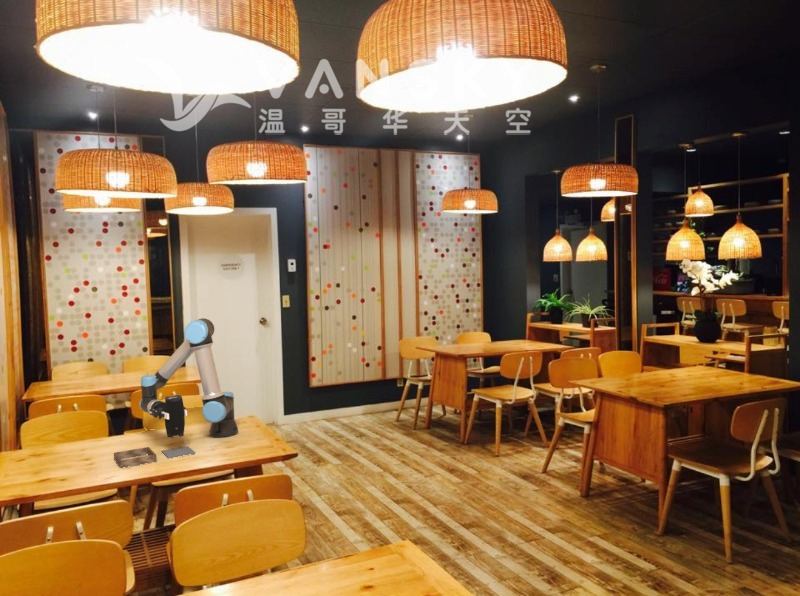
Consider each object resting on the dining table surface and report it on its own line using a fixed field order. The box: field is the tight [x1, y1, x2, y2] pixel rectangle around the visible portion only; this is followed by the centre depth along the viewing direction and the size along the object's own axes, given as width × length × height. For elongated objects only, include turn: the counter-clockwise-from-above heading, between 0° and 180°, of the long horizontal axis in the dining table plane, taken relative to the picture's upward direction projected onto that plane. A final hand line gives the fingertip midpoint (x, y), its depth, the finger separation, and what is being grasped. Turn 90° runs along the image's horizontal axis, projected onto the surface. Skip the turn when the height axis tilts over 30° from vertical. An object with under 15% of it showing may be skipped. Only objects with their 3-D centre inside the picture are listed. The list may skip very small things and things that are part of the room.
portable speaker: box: [164, 394, 186, 439], centre depth 314 cm, size 9×9×20 cm
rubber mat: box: [161, 445, 196, 459], centre depth 316 cm, size 13×13×1 cm
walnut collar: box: [113, 446, 158, 469], centre depth 305 cm, size 16×16×4 cm
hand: (177, 414), depth 312 cm, fingers closed on portable speaker, 8 cm apart
